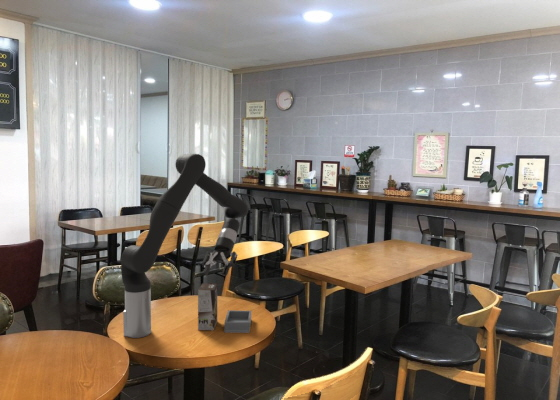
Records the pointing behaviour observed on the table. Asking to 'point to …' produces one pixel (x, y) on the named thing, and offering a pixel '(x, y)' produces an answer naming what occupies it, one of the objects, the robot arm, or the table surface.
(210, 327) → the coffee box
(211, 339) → the table surface
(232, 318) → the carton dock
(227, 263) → the robot arm
